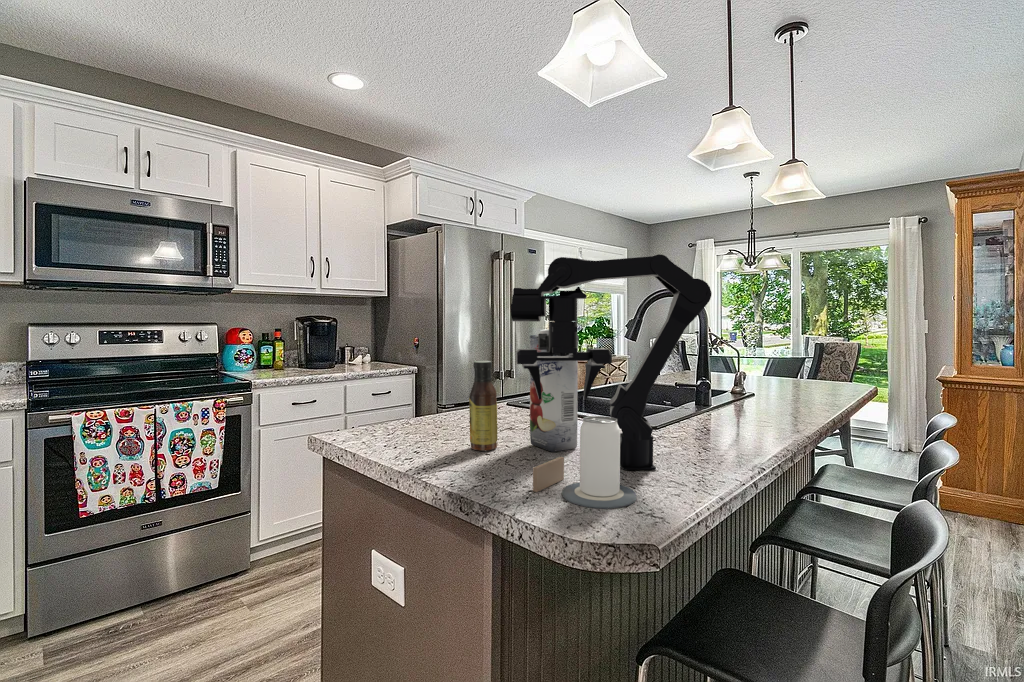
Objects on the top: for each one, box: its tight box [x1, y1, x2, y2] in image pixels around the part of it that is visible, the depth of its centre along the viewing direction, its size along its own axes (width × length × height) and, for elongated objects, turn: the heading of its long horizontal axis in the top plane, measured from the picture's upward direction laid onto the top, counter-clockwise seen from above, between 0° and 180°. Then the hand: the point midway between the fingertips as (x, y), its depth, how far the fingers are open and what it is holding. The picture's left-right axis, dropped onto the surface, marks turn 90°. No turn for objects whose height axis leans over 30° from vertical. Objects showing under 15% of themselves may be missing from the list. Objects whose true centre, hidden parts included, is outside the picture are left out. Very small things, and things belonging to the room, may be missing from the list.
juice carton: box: [529, 328, 580, 453], centre depth 119 cm, size 9×10×27 cm
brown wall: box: [532, 456, 565, 493], centre depth 91 cm, size 9×1×4 cm, turn 144°
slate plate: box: [561, 481, 637, 509], centre depth 86 cm, size 12×12×1 cm
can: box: [579, 415, 621, 497], centre depth 86 cm, size 6×6×12 cm
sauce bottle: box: [468, 360, 499, 452], centre depth 117 cm, size 6×6×20 cm
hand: (562, 399), depth 105 cm, fingers open, 9 cm apart
